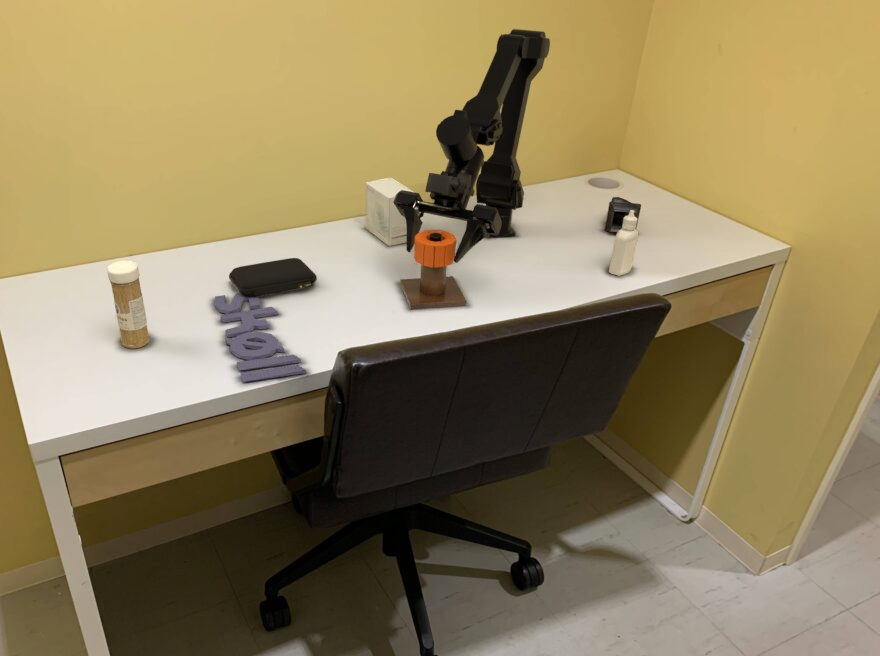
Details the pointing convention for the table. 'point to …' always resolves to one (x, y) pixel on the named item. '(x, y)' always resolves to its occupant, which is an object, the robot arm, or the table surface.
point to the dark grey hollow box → (620, 213)
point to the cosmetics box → (385, 211)
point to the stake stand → (432, 287)
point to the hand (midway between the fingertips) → (431, 256)
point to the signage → (254, 340)
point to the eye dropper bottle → (624, 246)
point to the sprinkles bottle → (129, 303)
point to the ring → (434, 249)
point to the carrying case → (272, 277)
